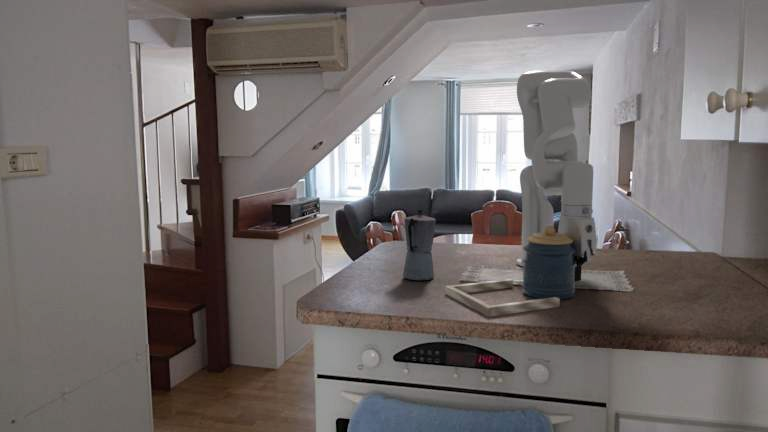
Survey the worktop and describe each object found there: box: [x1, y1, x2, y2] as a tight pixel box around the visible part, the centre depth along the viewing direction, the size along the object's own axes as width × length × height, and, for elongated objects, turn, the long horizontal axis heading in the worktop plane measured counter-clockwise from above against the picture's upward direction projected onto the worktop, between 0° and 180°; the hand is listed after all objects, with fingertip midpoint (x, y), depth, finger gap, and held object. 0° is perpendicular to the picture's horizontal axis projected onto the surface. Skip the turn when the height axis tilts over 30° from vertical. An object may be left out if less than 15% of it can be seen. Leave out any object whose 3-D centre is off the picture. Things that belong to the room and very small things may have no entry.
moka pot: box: [402, 209, 437, 281], centre depth 160 cm, size 10×15×20 cm, turn 161°
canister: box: [522, 225, 576, 301], centre depth 143 cm, size 13×13×18 cm
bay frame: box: [444, 278, 561, 317], centre depth 139 cm, size 20×21×2 cm
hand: (574, 280), depth 147 cm, fingers closed
